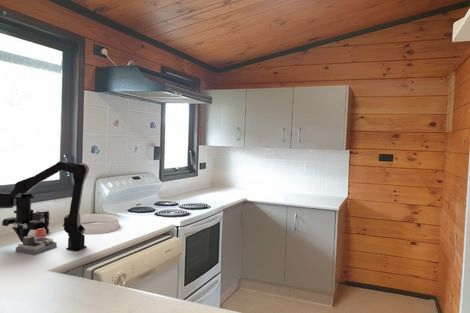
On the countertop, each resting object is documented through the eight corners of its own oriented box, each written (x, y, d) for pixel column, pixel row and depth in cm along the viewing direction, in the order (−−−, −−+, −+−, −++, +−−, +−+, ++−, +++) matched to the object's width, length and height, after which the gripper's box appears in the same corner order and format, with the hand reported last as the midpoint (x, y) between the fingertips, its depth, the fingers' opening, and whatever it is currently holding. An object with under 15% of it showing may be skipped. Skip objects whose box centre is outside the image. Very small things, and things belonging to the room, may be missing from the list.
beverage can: (45, 230, 195) (46, 208, 195) (51, 233, 191) (51, 210, 191) (32, 232, 190) (33, 210, 190) (38, 235, 186) (38, 212, 186)
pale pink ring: (59, 233, 192) (59, 223, 192) (79, 221, 219) (79, 213, 219) (110, 235, 193) (110, 225, 193) (124, 223, 220) (124, 214, 220)
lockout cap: (47, 240, 178) (48, 228, 177) (40, 243, 173) (40, 230, 173) (40, 239, 179) (40, 227, 179) (32, 242, 175) (33, 229, 174)
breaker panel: (56, 246, 169) (57, 239, 169) (33, 254, 156) (33, 246, 156) (39, 243, 172) (39, 236, 172) (15, 251, 159) (15, 244, 159)
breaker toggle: (34, 245, 163) (34, 235, 163) (27, 247, 160) (28, 237, 159) (29, 244, 164) (29, 234, 164) (22, 246, 160) (22, 236, 160)
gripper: (54, 206, 167) (53, 240, 168) (22, 203, 172) (22, 235, 173) (34, 211, 156) (33, 246, 157) (1, 207, 162) (1, 241, 162)
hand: (23, 242), depth 163 cm, fingers closed
